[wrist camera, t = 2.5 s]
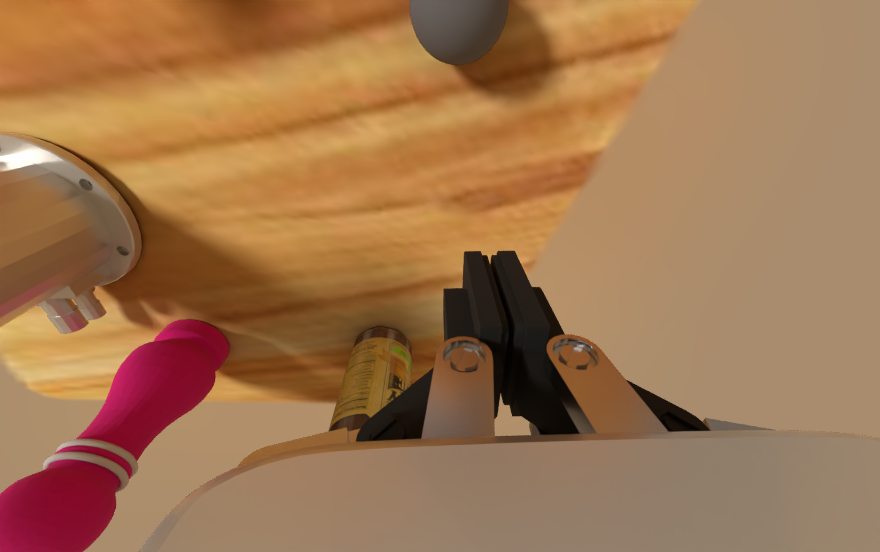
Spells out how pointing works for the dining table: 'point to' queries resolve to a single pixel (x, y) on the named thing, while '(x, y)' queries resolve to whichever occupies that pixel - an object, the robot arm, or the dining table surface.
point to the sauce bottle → (372, 377)
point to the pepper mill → (111, 443)
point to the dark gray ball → (458, 27)
